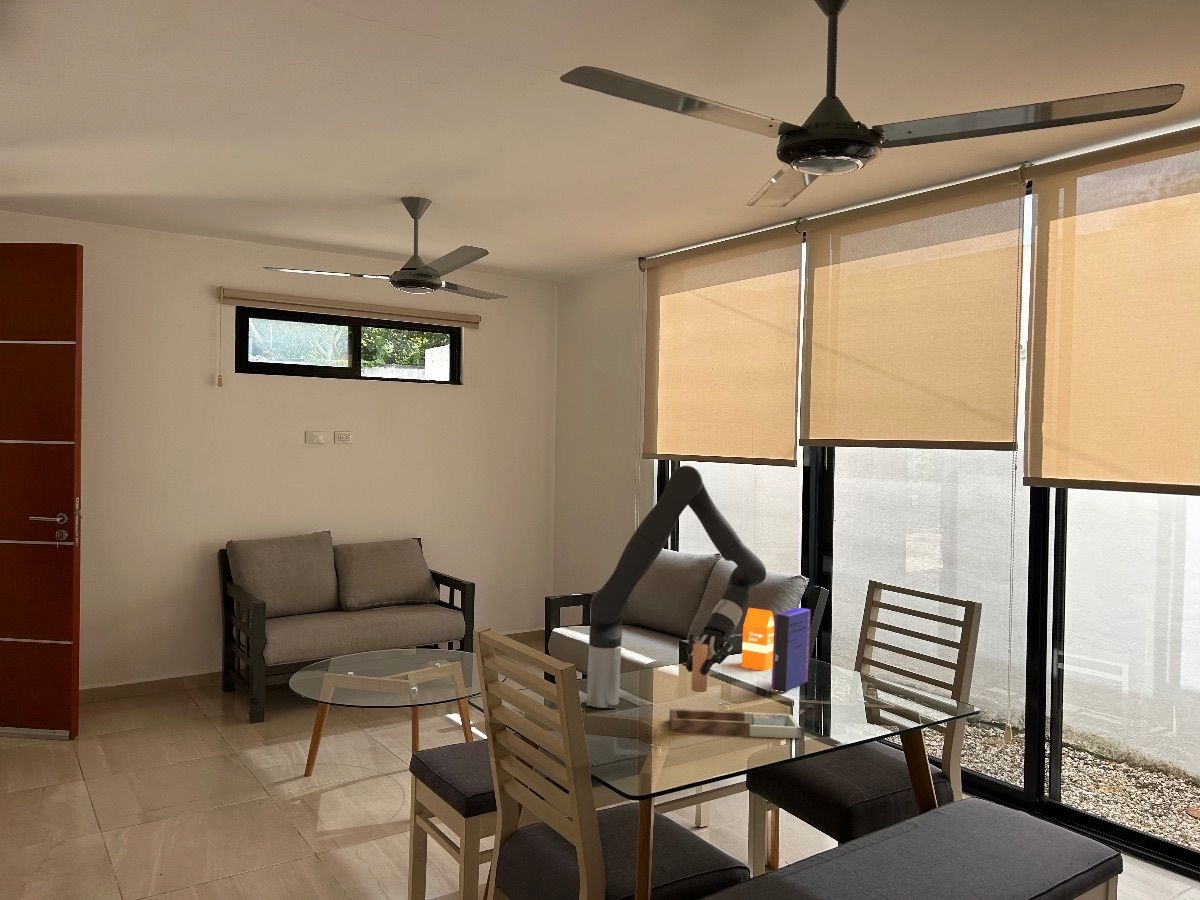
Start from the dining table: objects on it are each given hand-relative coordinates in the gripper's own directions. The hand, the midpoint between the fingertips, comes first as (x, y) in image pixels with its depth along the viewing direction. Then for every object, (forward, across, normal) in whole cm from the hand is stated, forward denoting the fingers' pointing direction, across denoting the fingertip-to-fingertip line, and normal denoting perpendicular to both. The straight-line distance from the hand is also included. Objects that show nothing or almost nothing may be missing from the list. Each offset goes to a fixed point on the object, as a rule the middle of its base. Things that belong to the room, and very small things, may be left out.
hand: (695, 671), depth 237 cm
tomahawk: (-13, +11, +37) cm, 41 cm away
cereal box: (-32, -9, +56) cm, 65 cm away
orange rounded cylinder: (+2, 0, +5) cm, 6 cm away
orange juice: (-42, -30, +66) cm, 84 cm away
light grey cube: (+2, +12, +20) cm, 23 cm away
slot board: (+9, +2, +14) cm, 16 cm away
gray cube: (0, +15, +22) cm, 27 cm away
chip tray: (+1, +14, +22) cm, 26 cm away
